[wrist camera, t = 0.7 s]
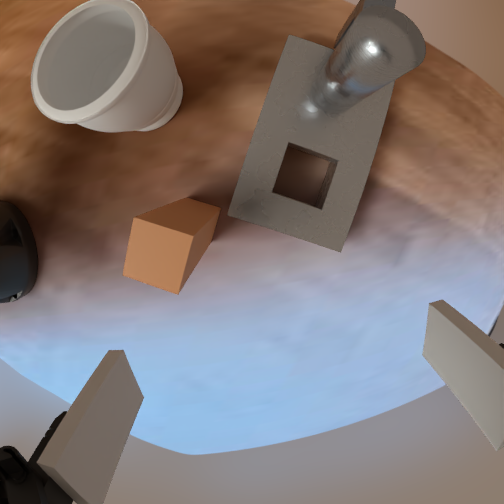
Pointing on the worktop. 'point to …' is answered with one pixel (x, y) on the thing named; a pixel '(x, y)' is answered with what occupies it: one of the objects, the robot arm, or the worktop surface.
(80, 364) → the worktop surface
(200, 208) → the orange square bar
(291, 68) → the plate with square hole
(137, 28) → the jar
